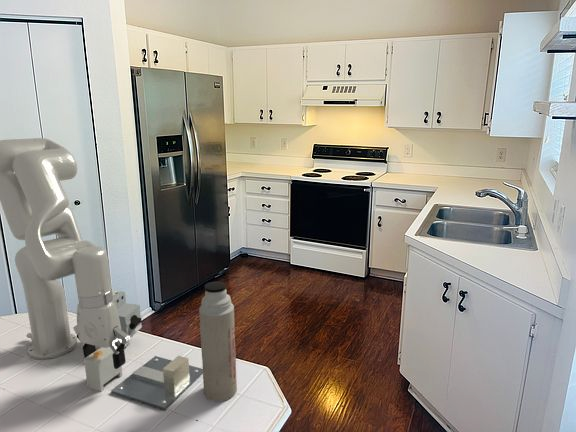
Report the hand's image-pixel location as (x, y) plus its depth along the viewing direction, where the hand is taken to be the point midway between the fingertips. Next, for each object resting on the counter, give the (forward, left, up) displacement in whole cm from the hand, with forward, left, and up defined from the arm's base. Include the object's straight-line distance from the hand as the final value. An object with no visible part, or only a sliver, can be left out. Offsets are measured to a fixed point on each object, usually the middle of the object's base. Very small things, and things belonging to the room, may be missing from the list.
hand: (105, 362), depth 105 cm
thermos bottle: (+28, +8, -6) cm, 30 cm away
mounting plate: (+12, +5, -6) cm, 14 cm away
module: (-1, 0, -6) cm, 6 cm away
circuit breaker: (-11, +15, -6) cm, 20 cm away
